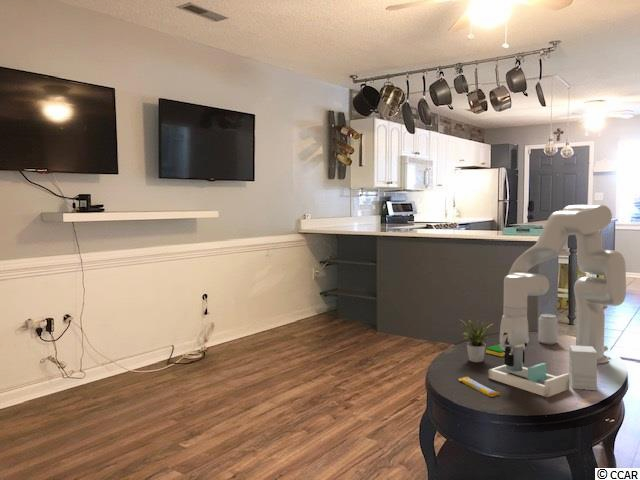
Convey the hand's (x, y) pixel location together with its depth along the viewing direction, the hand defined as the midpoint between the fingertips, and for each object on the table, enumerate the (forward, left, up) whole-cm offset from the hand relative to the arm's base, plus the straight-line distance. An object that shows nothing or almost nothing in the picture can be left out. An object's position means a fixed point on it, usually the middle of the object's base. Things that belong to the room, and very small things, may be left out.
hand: (514, 363), depth 176 cm
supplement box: (-12, +17, -6) cm, 22 cm away
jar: (0, 0, -2) cm, 2 cm away
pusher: (0, +11, -5) cm, 12 cm away
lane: (0, +5, -6) cm, 7 cm away
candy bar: (+16, -2, -6) cm, 18 cm away
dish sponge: (-25, -23, -6) cm, 35 cm away
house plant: (-6, -23, -6) cm, 25 cm away
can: (-51, -20, -6) cm, 55 cm away
